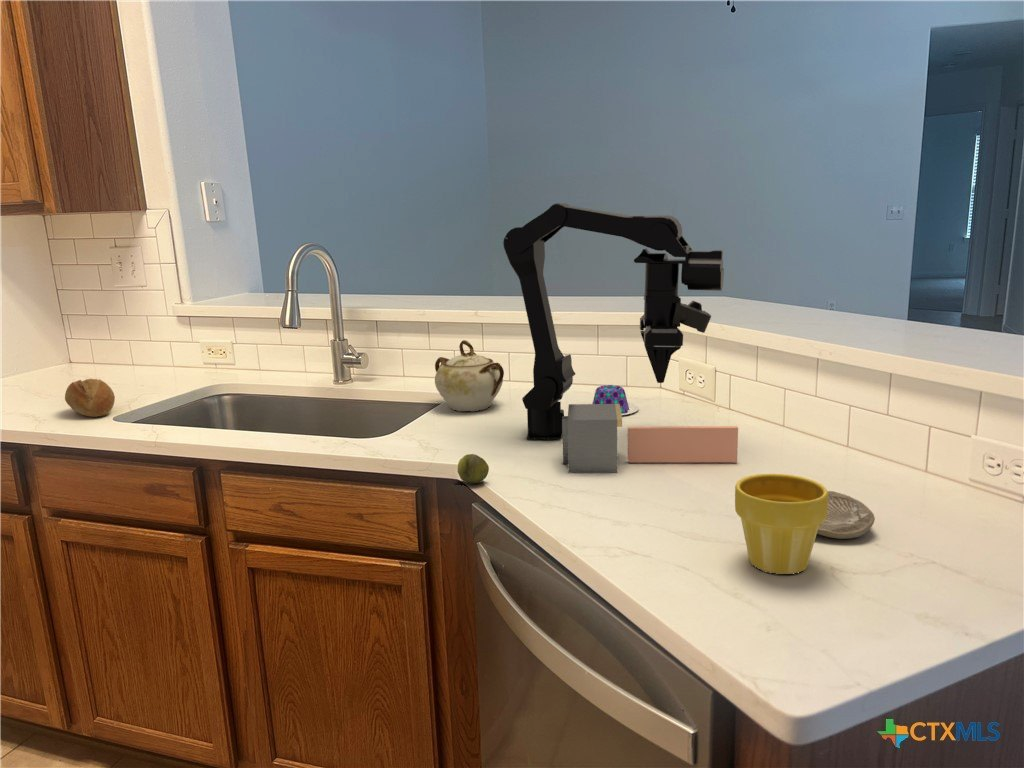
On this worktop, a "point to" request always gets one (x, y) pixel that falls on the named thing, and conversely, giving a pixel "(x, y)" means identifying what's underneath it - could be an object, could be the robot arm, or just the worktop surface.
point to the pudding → (613, 398)
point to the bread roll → (90, 397)
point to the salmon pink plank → (683, 444)
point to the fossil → (845, 517)
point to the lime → (472, 468)
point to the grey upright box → (591, 438)
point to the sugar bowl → (468, 380)
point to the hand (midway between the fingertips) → (658, 376)
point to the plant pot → (780, 519)
